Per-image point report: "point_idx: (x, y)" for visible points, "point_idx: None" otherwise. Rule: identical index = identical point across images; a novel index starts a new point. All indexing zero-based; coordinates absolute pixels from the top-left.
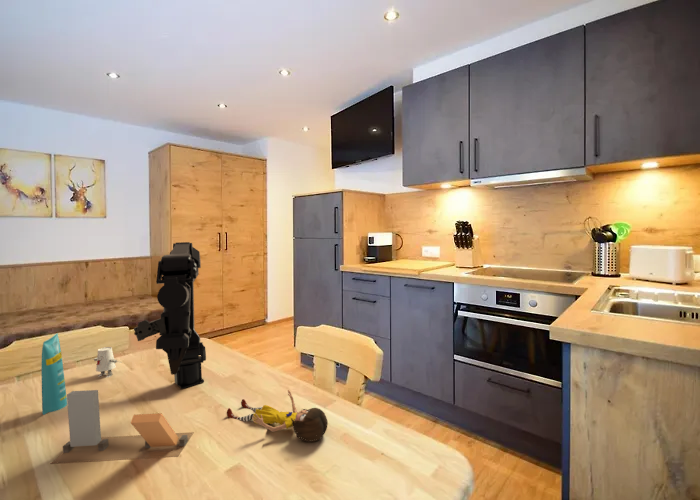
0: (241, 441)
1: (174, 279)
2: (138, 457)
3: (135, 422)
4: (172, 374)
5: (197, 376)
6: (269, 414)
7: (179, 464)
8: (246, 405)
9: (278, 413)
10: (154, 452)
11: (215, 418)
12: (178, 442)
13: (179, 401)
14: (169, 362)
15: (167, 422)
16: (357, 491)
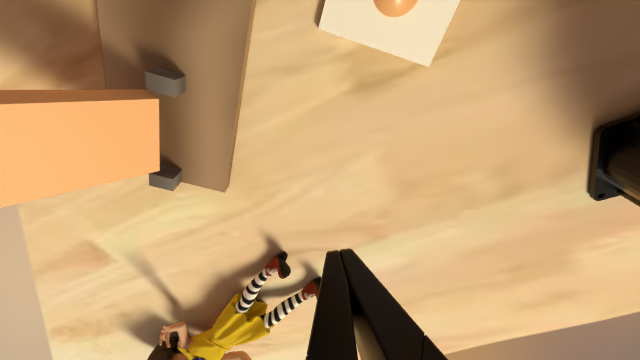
0: (188, 267)
1: None
2: (108, 55)
3: None
4: (326, 255)
5: (628, 192)
6: (222, 335)
7: None
8: (313, 294)
9: (217, 347)
10: None
11: (307, 226)
12: (179, 159)
13: (485, 127)
14: (310, 344)
15: (1, 206)
16: (57, 357)
